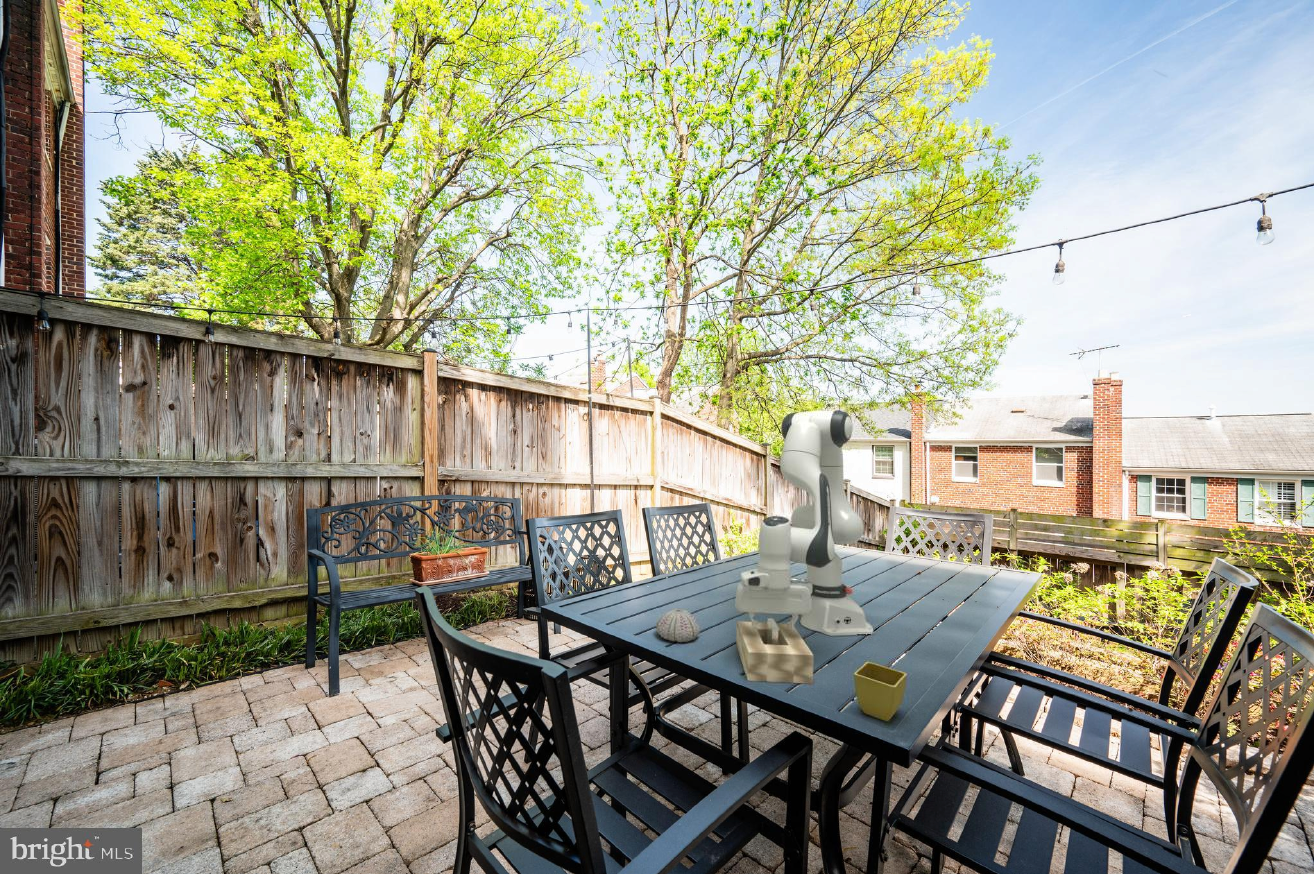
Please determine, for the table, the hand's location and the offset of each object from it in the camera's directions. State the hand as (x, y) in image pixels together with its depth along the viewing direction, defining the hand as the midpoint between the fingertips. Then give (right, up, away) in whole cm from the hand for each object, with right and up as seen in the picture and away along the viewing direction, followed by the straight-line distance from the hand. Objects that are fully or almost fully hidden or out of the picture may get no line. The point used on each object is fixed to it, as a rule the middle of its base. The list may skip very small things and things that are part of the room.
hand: (772, 629), depth 136 cm
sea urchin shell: (-25, -9, +17) cm, 31 cm away
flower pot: (+18, -10, -25) cm, 32 cm away
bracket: (0, -8, 0) cm, 8 cm away
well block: (0, -9, 0) cm, 9 cm away
